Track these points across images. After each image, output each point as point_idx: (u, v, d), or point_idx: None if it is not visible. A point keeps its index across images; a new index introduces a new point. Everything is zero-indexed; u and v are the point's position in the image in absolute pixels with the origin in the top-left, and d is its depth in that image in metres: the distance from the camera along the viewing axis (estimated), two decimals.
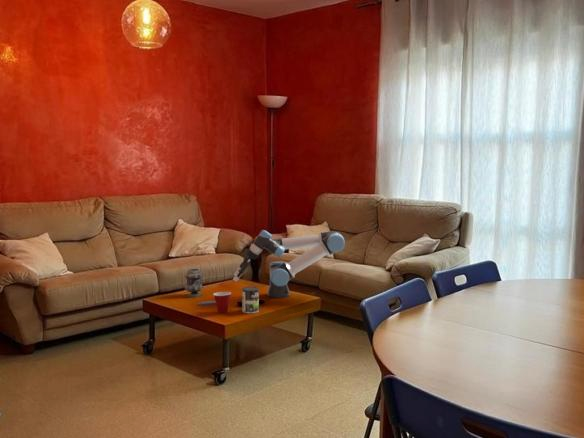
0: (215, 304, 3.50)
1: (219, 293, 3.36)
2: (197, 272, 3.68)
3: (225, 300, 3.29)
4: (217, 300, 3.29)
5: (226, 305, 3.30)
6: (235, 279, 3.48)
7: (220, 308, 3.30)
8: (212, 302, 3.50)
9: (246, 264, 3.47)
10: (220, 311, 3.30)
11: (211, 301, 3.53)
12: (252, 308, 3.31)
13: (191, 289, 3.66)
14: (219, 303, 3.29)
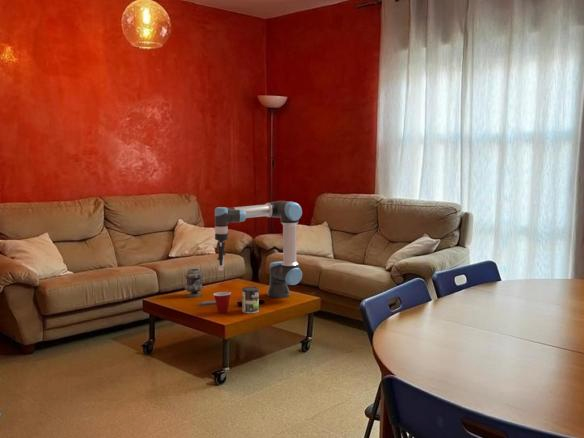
0: (215, 304, 3.50)
1: (219, 293, 3.36)
2: (197, 272, 3.68)
3: (225, 300, 3.29)
4: (217, 300, 3.29)
5: (226, 305, 3.30)
6: (220, 268, 3.23)
7: (220, 308, 3.30)
8: (212, 302, 3.50)
9: (220, 249, 3.22)
10: (220, 311, 3.30)
11: (211, 301, 3.53)
12: (252, 308, 3.31)
13: (191, 289, 3.66)
14: (219, 303, 3.29)
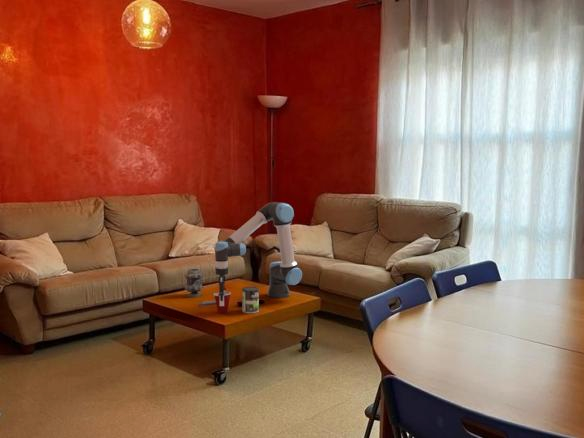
0: None
1: None
2: (197, 272, 3.68)
3: (225, 300, 3.29)
4: (217, 300, 3.29)
5: (226, 305, 3.30)
6: (221, 304, 3.27)
7: (220, 308, 3.30)
8: (212, 302, 3.50)
9: (221, 284, 3.24)
10: (220, 311, 3.30)
11: (211, 301, 3.53)
12: (252, 308, 3.31)
13: (191, 289, 3.66)
14: (219, 303, 3.29)
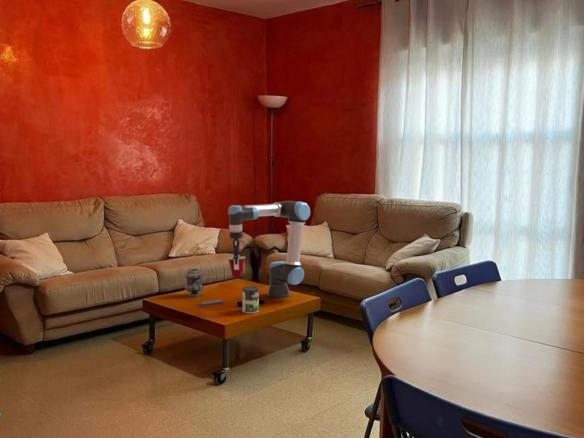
0: None
1: (233, 257, 3.35)
2: (197, 272, 3.68)
3: (239, 264, 3.28)
4: (231, 264, 3.28)
5: (241, 269, 3.29)
6: (236, 268, 3.26)
7: (235, 272, 3.29)
8: (212, 302, 3.50)
9: (235, 248, 3.23)
10: (235, 275, 3.29)
11: (211, 301, 3.53)
12: (252, 308, 3.31)
13: (191, 289, 3.66)
14: None
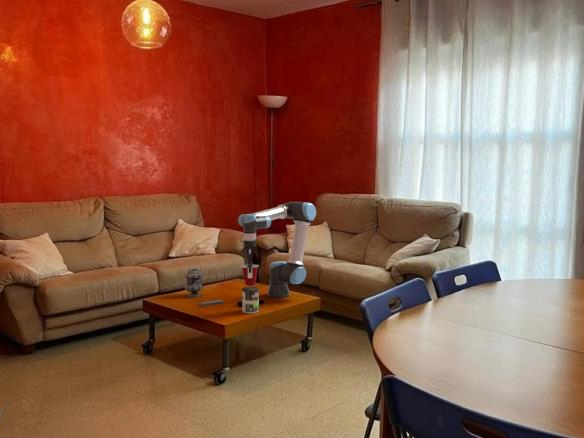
0: None
1: (246, 266, 3.37)
2: (197, 272, 3.68)
3: (253, 272, 3.29)
4: (245, 272, 3.29)
5: (254, 277, 3.31)
6: (250, 276, 3.27)
7: (248, 280, 3.30)
8: (212, 302, 3.50)
9: (249, 256, 3.24)
10: (248, 283, 3.31)
11: (211, 301, 3.52)
12: (252, 308, 3.31)
13: (191, 289, 3.66)
14: (247, 275, 3.29)
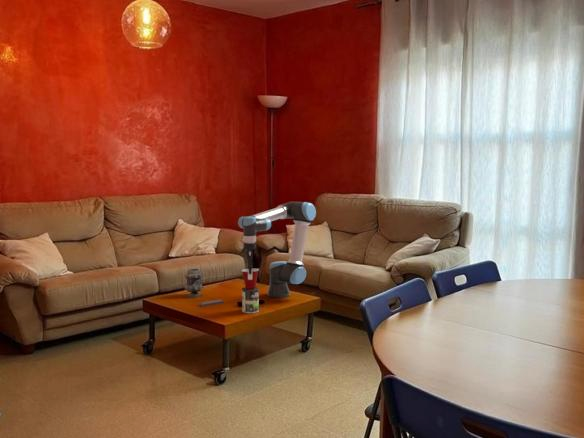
0: None
1: (247, 270, 3.37)
2: (197, 272, 3.68)
3: (253, 276, 3.29)
4: (245, 276, 3.30)
5: (254, 281, 3.31)
6: (250, 277, 3.26)
7: (248, 284, 3.30)
8: (212, 302, 3.50)
9: (250, 258, 3.24)
10: (248, 287, 3.31)
11: (211, 301, 3.52)
12: (252, 308, 3.31)
13: (191, 289, 3.66)
14: (247, 279, 3.29)
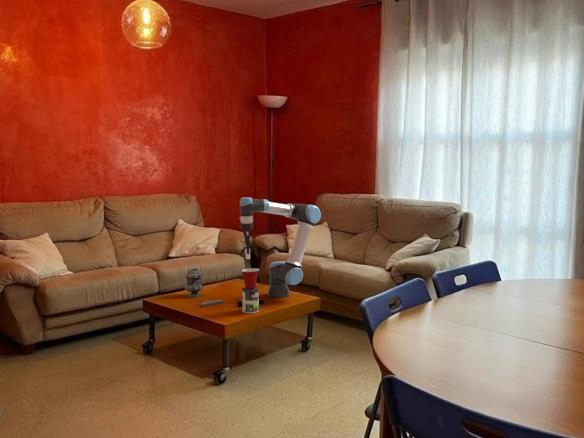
0: None
1: (247, 270, 3.37)
2: (197, 272, 3.68)
3: (253, 276, 3.29)
4: (245, 276, 3.30)
5: (254, 281, 3.31)
6: (248, 257, 3.32)
7: (248, 284, 3.30)
8: (213, 302, 3.51)
9: (247, 238, 3.30)
10: (248, 287, 3.31)
11: (211, 301, 3.52)
12: (252, 308, 3.31)
13: (191, 289, 3.66)
14: (247, 279, 3.29)
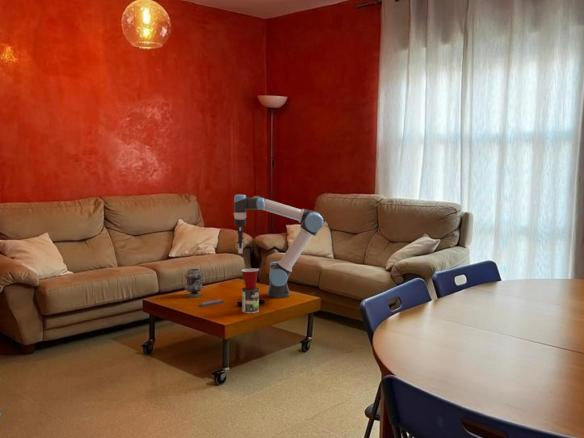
0: None
1: (247, 270, 3.37)
2: (197, 272, 3.68)
3: (253, 276, 3.29)
4: (245, 276, 3.30)
5: (254, 281, 3.31)
6: (240, 251, 3.48)
7: (248, 284, 3.30)
8: (213, 302, 3.51)
9: (240, 233, 3.46)
10: (248, 287, 3.31)
11: (210, 301, 3.52)
12: (252, 308, 3.31)
13: (191, 289, 3.66)
14: (247, 279, 3.29)
